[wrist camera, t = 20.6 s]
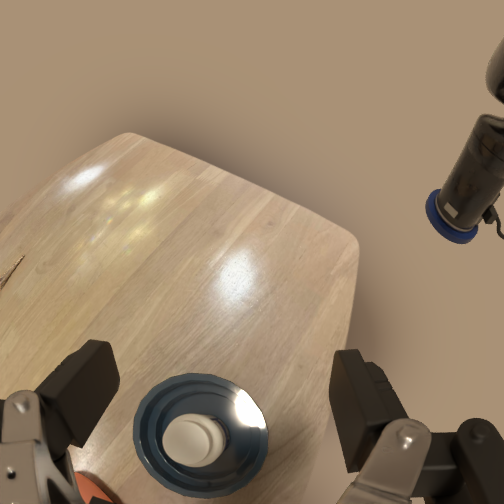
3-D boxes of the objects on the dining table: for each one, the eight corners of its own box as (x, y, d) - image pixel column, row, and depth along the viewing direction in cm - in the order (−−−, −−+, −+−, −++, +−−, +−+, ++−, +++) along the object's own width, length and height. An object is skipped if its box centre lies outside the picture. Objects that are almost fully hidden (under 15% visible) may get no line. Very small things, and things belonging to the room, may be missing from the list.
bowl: (267, 381, 32) (268, 375, 27) (265, 489, 25) (266, 502, 20) (155, 375, 32) (138, 367, 27) (149, 477, 25) (131, 485, 20)
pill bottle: (176, 447, 27) (145, 456, 18) (191, 407, 29) (166, 403, 21) (221, 464, 26) (206, 482, 17) (236, 423, 28) (227, 426, 20)
